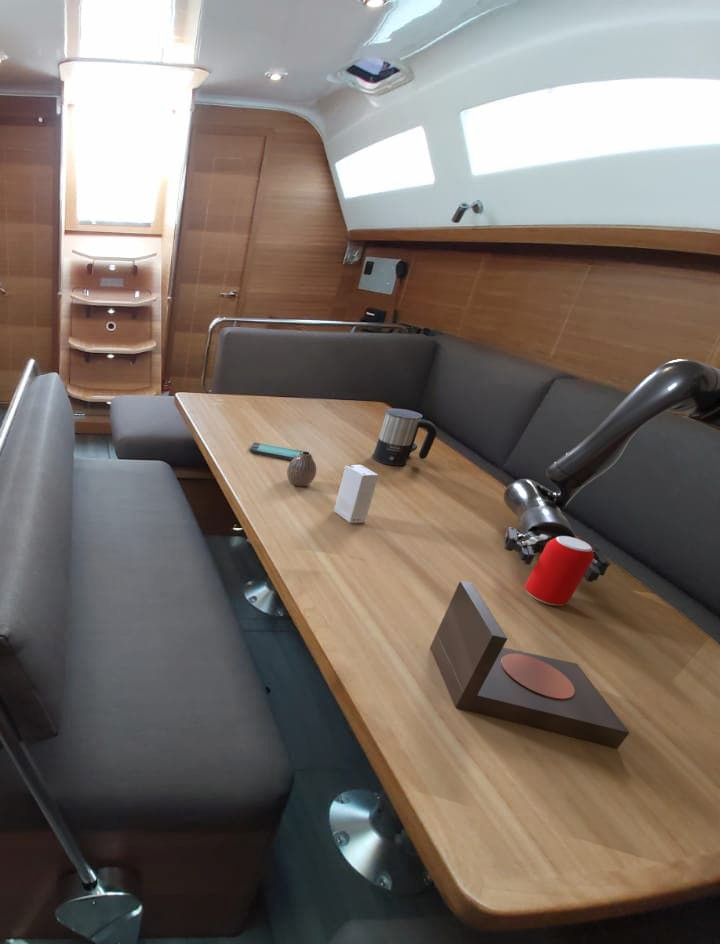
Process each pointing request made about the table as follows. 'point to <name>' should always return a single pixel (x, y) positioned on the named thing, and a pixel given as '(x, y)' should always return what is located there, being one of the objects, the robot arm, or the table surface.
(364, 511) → the cosmetic box
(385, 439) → the milk frother
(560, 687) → the bookend
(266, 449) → the smartphone
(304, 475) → the vase
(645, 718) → the table surface
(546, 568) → the beverage can
